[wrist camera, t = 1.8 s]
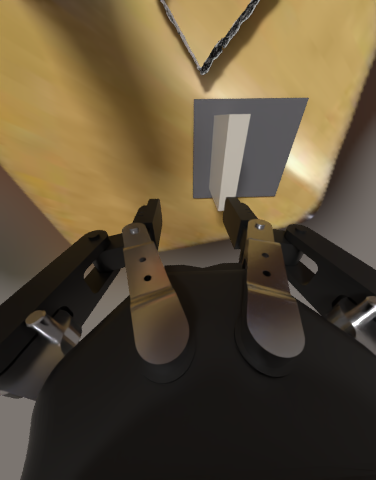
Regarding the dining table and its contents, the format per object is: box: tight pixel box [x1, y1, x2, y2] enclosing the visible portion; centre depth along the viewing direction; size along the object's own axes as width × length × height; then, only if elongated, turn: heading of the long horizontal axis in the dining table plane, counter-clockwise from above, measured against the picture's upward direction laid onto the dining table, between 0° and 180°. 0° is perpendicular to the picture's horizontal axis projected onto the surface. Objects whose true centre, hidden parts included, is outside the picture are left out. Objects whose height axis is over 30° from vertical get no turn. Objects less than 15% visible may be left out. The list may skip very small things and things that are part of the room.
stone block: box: [209, 114, 251, 211], centre depth 25 cm, size 3×12×10 cm, turn 0°
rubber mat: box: [193, 98, 309, 198], centre depth 29 cm, size 18×16×1 cm
